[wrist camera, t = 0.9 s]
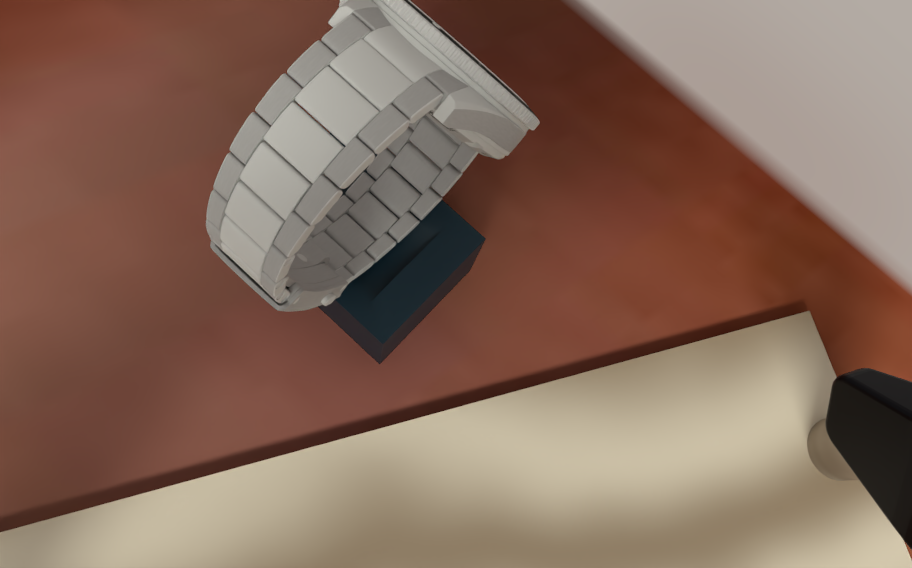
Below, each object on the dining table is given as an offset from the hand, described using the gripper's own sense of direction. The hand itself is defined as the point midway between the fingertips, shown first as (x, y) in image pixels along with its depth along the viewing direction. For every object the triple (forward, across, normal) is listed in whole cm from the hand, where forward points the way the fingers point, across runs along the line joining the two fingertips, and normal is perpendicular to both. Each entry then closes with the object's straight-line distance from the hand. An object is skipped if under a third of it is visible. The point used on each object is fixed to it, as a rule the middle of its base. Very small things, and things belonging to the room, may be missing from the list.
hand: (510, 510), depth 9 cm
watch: (+16, 0, +5) cm, 16 cm away
